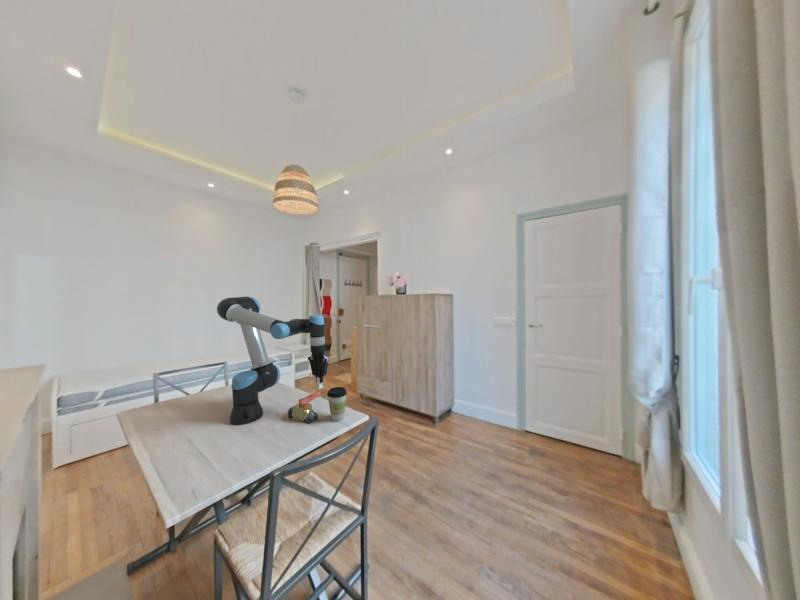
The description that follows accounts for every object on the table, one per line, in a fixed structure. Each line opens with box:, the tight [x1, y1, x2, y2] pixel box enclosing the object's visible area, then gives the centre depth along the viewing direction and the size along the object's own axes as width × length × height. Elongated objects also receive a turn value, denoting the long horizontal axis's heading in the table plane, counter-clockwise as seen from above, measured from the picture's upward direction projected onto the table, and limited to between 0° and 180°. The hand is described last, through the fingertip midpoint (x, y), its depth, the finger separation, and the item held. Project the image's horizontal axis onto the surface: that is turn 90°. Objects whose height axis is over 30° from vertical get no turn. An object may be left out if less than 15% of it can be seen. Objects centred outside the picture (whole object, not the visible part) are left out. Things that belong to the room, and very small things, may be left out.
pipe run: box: [287, 402, 319, 425], centre depth 140 cm, size 16×6×8 cm, turn 65°
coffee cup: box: [326, 386, 348, 423], centre depth 139 cm, size 10×10×15 cm
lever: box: [298, 391, 321, 406], centre depth 145 cm, size 14×3×3 cm, turn 155°
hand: (320, 388), depth 144 cm, fingers closed
